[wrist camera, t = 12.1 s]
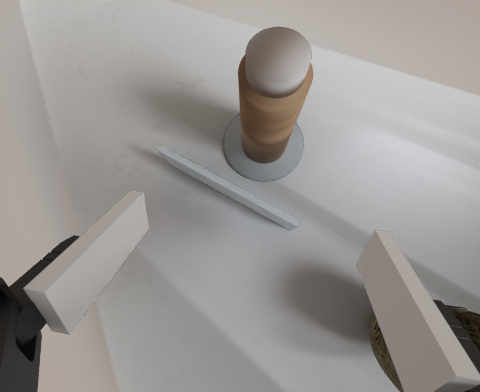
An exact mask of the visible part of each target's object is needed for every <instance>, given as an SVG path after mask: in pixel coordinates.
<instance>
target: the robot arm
mask: <svg viewBox="0 0 480 392" xmlns="http://www.w3.org/2000/svg"><path fill="white" fill-rule="evenodd" d="M148 229H149V223H148V217H147V211H146V204H145V198H144V192H140V191H133V190H131V191H130V192H128V193H127V194H126V195H125V196H124V197H123V198H122V199H121V200H120V201H119V202H118V203H116V204H115V205H114V206H113V207H112V208H111V209H110V210H109V211H108V212H107V213H105V214H104V215H103V216H102V217H101V218H100V219H99V220H98V221H97V222H96V223H94V224H93V225H92V226H91V227H90V228H89V229H88V230H87V231H86V232H85V233H83V234H82V235H81V236H72V237H70V238H68V239H66V240H65V241H63V242H61V243H60V244H59V245H58V246H56V247H55V248H54V249H53V250H52V251H51V253H48V254H47V255H46V256H45V257H44V258H43V260H40V261H39V262H38V263H37V264H35V265H34V266H33V267H32V268H31V269H30V270H28V271H27V272H26V273H25V274H24V275H23V276H22V277H20V278H19V279H18V280H17V281H16V282H15V283H13V284H12V285H11V286H10V287H8V286H7V284H6V283H5V281H4V280H3V279H2V278H0V392H37V388H38V376H39V364H40V352H41V340H42V335H41V331H40V330H41V329H42V328H43V327H44V325H45V324H46V323H47V324H48V326H49V327H50V329H51V330H52V331H55V332H60V333H64V334H70V333H71V332H72V331H73V329H74V328H75V327H76V325H77V324H78V323H79V321H80V320H81V319H82V317H83V316H84V315H85V313H86V312H87V311H88V309H89V308H90V307H91V305H92V304H93V303H94V301H95V300H96V299H97V297H98V296H99V295H100V293H101V292H102V291H103V289H104V288H105V287H106V285H107V284H108V283H109V281H110V280H111V279H112V277H113V276H114V275H115V273H116V272H117V271H118V269H119V268H120V267H121V265H122V264H123V263H124V261H125V260H126V259H127V257H128V256H129V255H130V253H131V252H132V251H133V249H134V248H135V247H136V245H137V244H138V243H139V241H140V240H141V239H142V237H143V236H144V235H145V233H146V232H147V231H148ZM356 265H357V268H358V270H359V273H360V276H361V278H362V281H363V284H364V286H365V289H366V292H367V294H368V297H369V300H370V302H371V305H372V308H373V310H374V313H375V316H376V318H377V321H378V324H379V326H380V329H381V332H382V334H383V337H384V340H385V342H386V345H387V348H388V350H389V353H390V356H391V358H392V361H393V364H394V366H395V369H396V372H397V374H398V377H399V380H400V382H401V385H402V388H403V390H404V392H480V352H479V350H478V349H477V347H476V346H475V344H474V343H473V341H471V340H470V339H471V338H470V337H469V335H468V334H467V333H466V331H465V330H463V327H462V325H461V324H460V322H459V321H458V319H457V318H456V316H455V315H454V313H452V312H451V311H450V310H449V309H448V308H447V307H446V306H445V305H444V304H443V303H442V302H441V301H438V300H432V298H431V297H430V295H429V293H428V292H427V290H426V289H425V287H424V286H423V284H422V282H421V281H420V279H419V278H418V276H417V274H416V273H415V271H414V270H413V268H412V267H411V265H410V263H409V262H408V260H407V259H406V257H405V255H404V254H403V252H402V251H401V249H400V248H399V246H398V244H397V243H396V241H395V240H394V238H393V237H392V235H391V233H390V232H385V231H379V230H375V231H374V233H373V235H372V237H371V238H370V240H369V242H368V244H367V246H366V247H365V249H364V251H363V253H362V255H361V257H360V258H359V260H358V262H357V264H356Z"/></svg>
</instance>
